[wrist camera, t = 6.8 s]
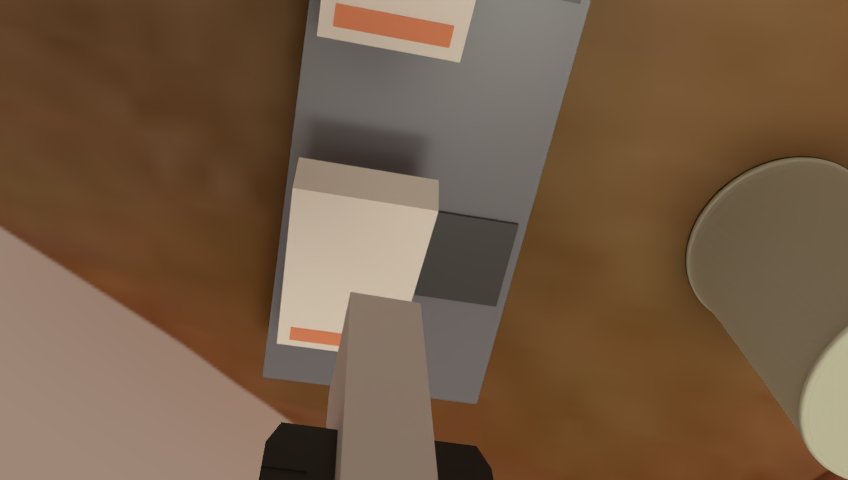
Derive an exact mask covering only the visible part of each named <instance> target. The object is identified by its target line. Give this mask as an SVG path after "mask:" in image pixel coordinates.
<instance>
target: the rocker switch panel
mask: <svg viewBox="0 0 848 480" xmlns="http://www.w3.org/2000/svg"><path fill="white" fill-rule="evenodd" d="M590 2H591V0H476V2H475V6H474V10H473V14H472V18H471V22H470V26H469V29H468V33H467V37H466V41H465V45H464V49H463V53H462V57H461V60H460V63H459V62H454V61H448V60H443V59H438V58H432V57H427V56H421V55H416V54H411V53H405V52H400V51H395V50H389V49H384V48H378V47H373V46H368V45H362V44H357V43H352V42H346V41H341V40H335V39H330V38H325V37H319V36H317V30H318V21H319V12H320V4H321V0H309V7H308V15H307V23H306V31H305V39H304V47H303V55H302V63H301V72H300V80H299V88H298V96H297V104H296V112H295V120H294V128H293V136H292V144H291V152H290V160H289V168H288V176H287V184H286V192H285V200H284V208H283V216H282V224H281V232H280V241H279V249H278V257H277V265H276V273H275V281H274V289H273V297H272V305H271V313H270V321H269V329H268V337H267V345H266V353H265V361H264V369H263V377H267V378H275V379H283V380H291V381H298V382H306V383H314V384H322V385H330V386H331V382H332V377H333V373H334V368H335V363H336V358H337V354H338V352H336V351H329V350H321V349H314V348H306V347H299V346H291V345H284V344H277V336H278V326H279V316H280V306H281V297H282V287H283V277H284V267H285V257H286V247H287V237H288V228H289V218H290V208H291V198H292V188H293V183H294V178H295V174H296V169H297V164H298V159H299V157H301V158H307V159H313V160H319V161H325V162H331V163H338V164H344V165H350V166H356V167H362V168H368V169H374V170H380V171H386V172H392V173H398V174H404V175H410V176H416V177H422V178H429V179H435V180H439V211H438V215H437V218H436V221H435V225H434V228H433V231H432V235H431V238H430V241H429V245H428V248H427V251H426V255H425V258H424V261H423V265H422V268H421V271H420V275H419V278H418V281H417V285H416V288H415V291H414V295H413V298H412V301H411V302H417V303H421V310H422V321H423V331H424V341H425V351H426V362H427V372H428V382H429V392H430V398H433V399H441V400H449V401H457V402H465V403H472V404H477V400H478V397H479V393H480V390H481V386H482V383H483V379H484V376H485V372H486V369H487V365H488V362H489V358H490V355H491V351H492V347H493V344H494V340H495V337H496V333H497V330H498V326H499V323H500V319H501V316H502V312H503V309H504V305H505V302H506V298H507V295H508V291H509V287H510V284H511V280H512V277H513V273H514V270H515V266H516V263H517V259H518V256H519V252H520V249H521V245H522V242H523V238H524V235H525V231H526V227H527V224H528V220H529V217H530V213H531V210H532V206H533V203H534V199H535V196H536V192H537V189H538V185H539V182H540V178H541V175H542V171H543V167H544V164H545V160H546V157H547V153H548V150H549V146H550V143H551V139H552V136H553V132H554V129H555V125H556V122H557V118H558V115H559V111H560V107H561V104H562V100H563V97H564V93H565V90H566V86H567V83H568V79H569V76H570V72H571V69H572V65H573V62H574V58H575V55H576V51H577V47H578V44H579V40H580V37H581V33H582V30H583V26H584V23H585V19H586V16H587V12H588V9H589V5H590Z"/></svg>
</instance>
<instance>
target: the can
mask: <svg viewBox="0 0 848 480" xmlns="http://www.w3.org/2000/svg"><path fill="white" fill-rule="evenodd" d="M686 269H687V274H688V279H689V282H690V285H691V287H692V289H693V291H694V293H695V294H696V296H697V298H698V299H699V300H700V301H701V303H702V304H703V305H704V306H705V307H706V308H707V309H708V310H710V311H711V312H712V313H713V314H714V315H715V317H716V318H717V319H718V320H719V322H720V323H721V324H722V326H723V327H724V328H725V330H726V331H727V332H728V334H729V335H730V336H731V338H732V339H733V341H734V342H735V343H736V345H737V346H738V347H739V349H740V350H741V352H742V353H743V354H744V356H745V357H746V358H747V360H748V361H749V363H750V364H751V365H752V367H753V368H754V369H755V371H756V372H757V374H758V375H759V376H760V378H761V379H762V380H763V382H764V383H765V385H766V386H767V387H768V389H769V390H770V392H771V393H772V395H773V396H774V397H775V399H776V400H777V402H778V403H779V405H780V406H781V407H782V409H783V410H784V412H785V413H786V415H787V416H788V417H789V419H790V420H791V422H792V423H793V425H794V426H795V427H796V429H797V430H798V432H799V433H800V435H801V436H802V438H803V441H804V443H805V445H806V446H807V448H808V449H809V451H810V453H811V454H812V455H813V456H814V457H815V459H816V460H817V461H818V462H819V463H821V464H822V465H823V466H824V467H825V468H827V469H828V470H830V471H831V472H833V473H835V474H837V475H839V476H841V477H843V478H845V479H848V170H847V169H846V168H844V167H842V166H840V165H838V164H836V163H833V162H830V161H827V160H823V159H818V158H808V157H794V158H786V159H780V160H776V161H772V162H769V163H765V164H762V165H760V166H758V167H755V168H753V169H751V170H749V171H747V172H745V173H743V174H741V175H740V176H738V177H737V178H736V179H734V180H733V181H731V182H730V183H728V184H727V185H726V186H725V187H724V188H723V189H721V190H720V191H719V192H718V193H717V194H716V195H715V196H714V197H713V198H712V199H711V200H710V202H709V203H708V204H707V205H706V207H705V208H704V209H703V211H702V212H701V214H700V215H699V217H698V219H697V221H696V223H695V225H694V227H693V229H692V232H691V235H690V238H689V242H688V246H687V252H686Z"/></svg>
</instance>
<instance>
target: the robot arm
mask: <svg viewBox="0 0 848 480" xmlns="http://www.w3.org/2000/svg"><path fill="white" fill-rule="evenodd" d="M259 480H493V475H492V470H491V467H490V466H489V464H488V463H487V461H486V460H485V458H484V457H483V455H482V454H481V452H480V451H479V449H478V448H477V446H471V445H463V444H456V443H448V442H441V441H434V433H433V423H432V413H431V403H430V392H429V382H428V372H427V362H426V351H425V341H424V331H423V321H422V310H421V303H417V302H411V301H405V300H399V299H392V298H386V297H380V296H374V295H367V294H361V293H355V292H350V297H349V302H348V306H347V311H346V316H345V320H344V325H343V330H342V335H341V339H340V344H339V349H338V354H337V358H336V363H335V368H334V373H333V377H332V382H331V387H330V391H329V400H328V412H327V424H326V428H320V427H313V426H305V425H298V424H290V423H281V424H280V425H279V426H278V427H277V429H276V430H275V431H274V433H273V434H272V435H271V436H270V437H269V438H268V440H267V441H266V443H265V449H264V455H263V460H262V466H261V471H260V477H259Z"/></svg>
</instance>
